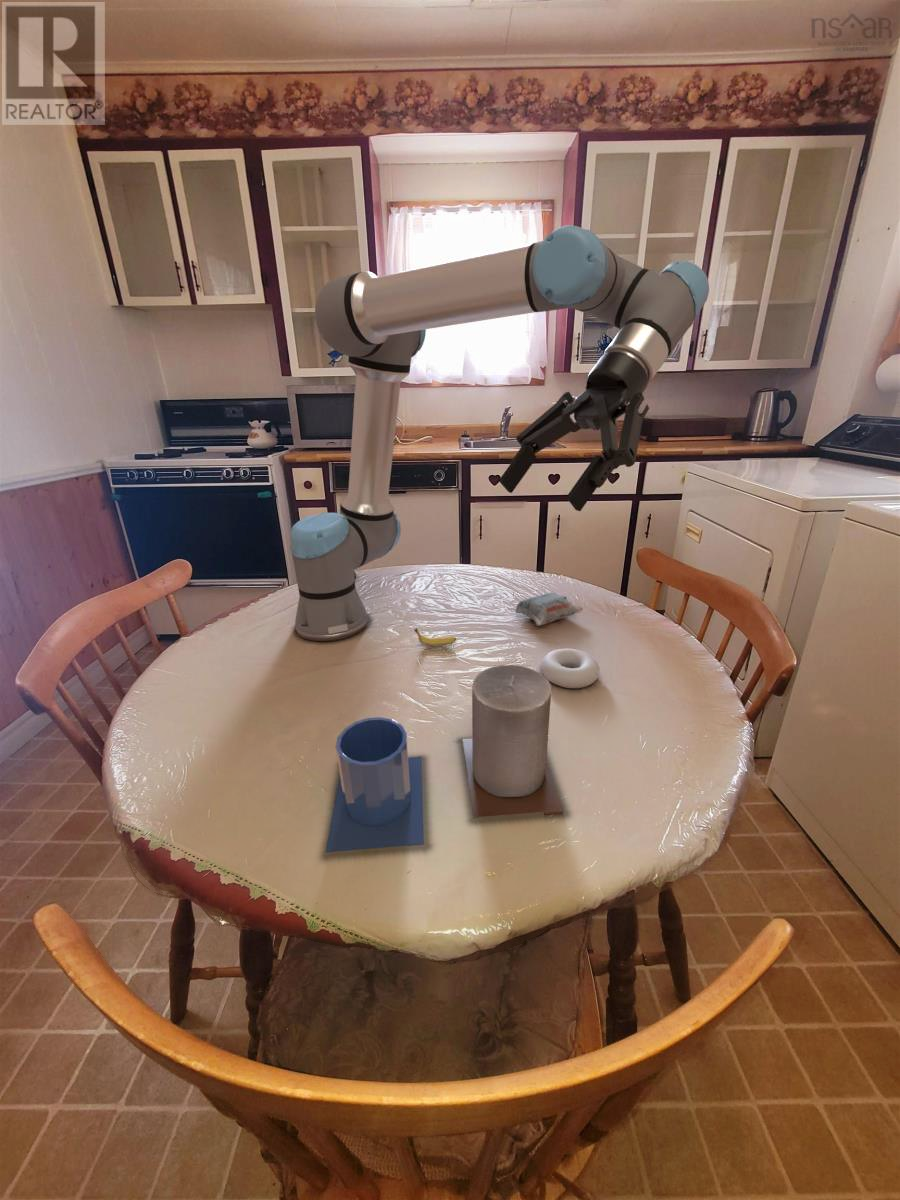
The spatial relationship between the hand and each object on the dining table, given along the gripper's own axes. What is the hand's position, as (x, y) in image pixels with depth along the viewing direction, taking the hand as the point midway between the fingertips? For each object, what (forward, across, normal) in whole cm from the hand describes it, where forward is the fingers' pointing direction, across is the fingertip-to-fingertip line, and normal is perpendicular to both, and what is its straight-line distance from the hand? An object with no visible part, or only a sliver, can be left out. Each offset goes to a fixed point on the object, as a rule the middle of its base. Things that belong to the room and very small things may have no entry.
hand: (536, 495), depth 65 cm
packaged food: (+8, +20, -40) cm, 45 cm away
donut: (+16, +1, -32) cm, 36 cm away
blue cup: (+44, -6, -3) cm, 44 cm away
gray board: (+33, -11, -15) cm, 38 cm away
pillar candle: (+32, -11, -15) cm, 37 cm away
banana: (+26, +23, -22) cm, 41 cm away
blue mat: (+44, -6, -3) cm, 45 cm away
